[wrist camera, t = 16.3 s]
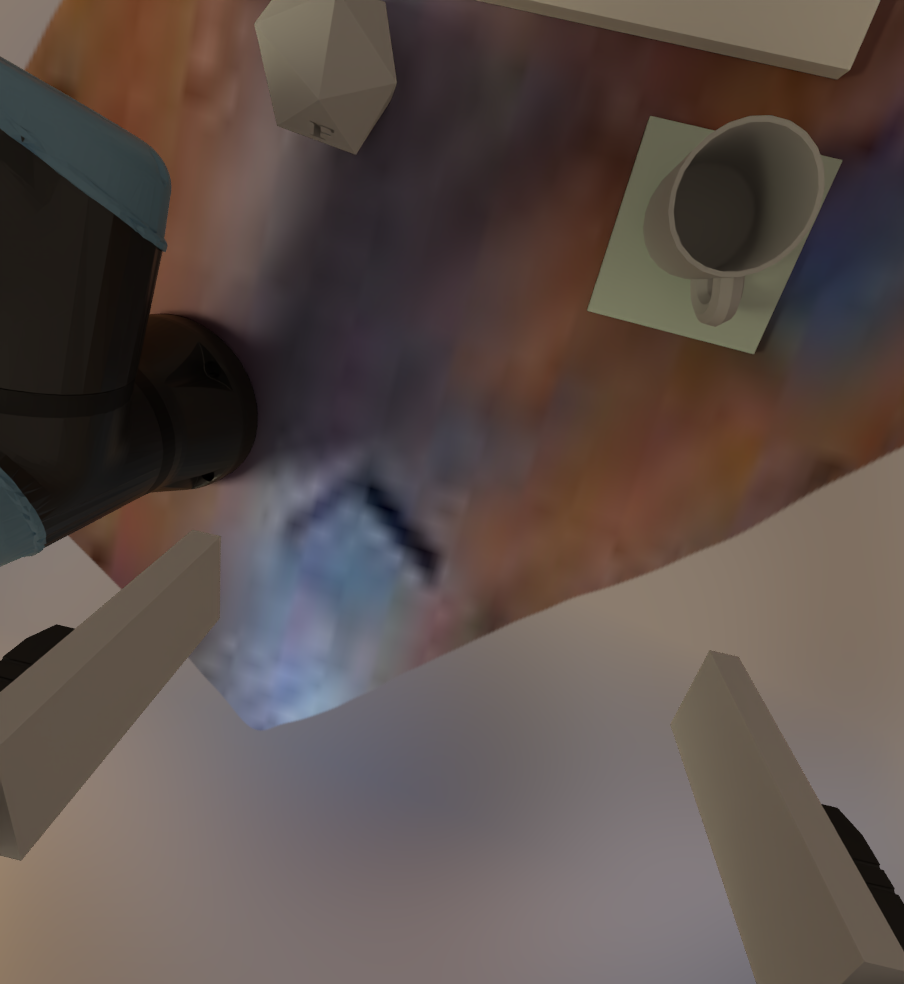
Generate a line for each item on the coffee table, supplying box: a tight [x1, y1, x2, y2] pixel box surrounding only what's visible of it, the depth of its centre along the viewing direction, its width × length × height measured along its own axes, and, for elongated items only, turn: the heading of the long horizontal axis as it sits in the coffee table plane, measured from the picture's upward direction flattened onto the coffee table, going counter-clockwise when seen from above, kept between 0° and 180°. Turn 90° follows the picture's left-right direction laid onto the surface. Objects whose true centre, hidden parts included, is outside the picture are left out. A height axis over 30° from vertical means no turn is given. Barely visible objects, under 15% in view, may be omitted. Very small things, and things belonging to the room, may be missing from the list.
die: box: [254, 0, 397, 155], centre depth 33 cm, size 8×9×10 cm
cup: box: [643, 115, 825, 327], centre depth 31 cm, size 7×10×9 cm
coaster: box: [587, 116, 843, 354], centre depth 35 cm, size 12×12×1 cm
